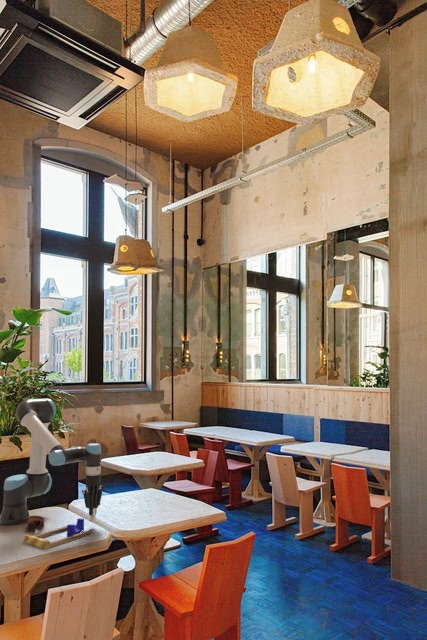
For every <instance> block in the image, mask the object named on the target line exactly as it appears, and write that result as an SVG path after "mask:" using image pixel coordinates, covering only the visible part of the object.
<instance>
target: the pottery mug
mask: <svg viewBox="0 0 427 640" xmlns="http://www.w3.org/2000/svg"><path fill="white" fill-rule="evenodd" d="M29 516H30V517H29V519H28V520H27V522H26V523H27V526H26V527H25V528H24V533H34V534H35V533H36V531H41V530H42V529H44V528H45V518H44V517H43V516H41V515H29Z"/></svg>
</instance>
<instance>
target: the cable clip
mask: <svg viewBox="0 0 427 640" xmlns="http://www.w3.org/2000/svg"><path fill="white" fill-rule="evenodd" d="M66 526H67V531H66V537H69V536H72V535H76V534H79V533H80V532H81V531H82V530H85V518H83V517H82V518H77V519H76V524H71V523H70V524H67V525H66ZM82 532H83V531H82ZM82 532H81V533H82Z"/></svg>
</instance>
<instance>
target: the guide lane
mask: <svg viewBox="0 0 427 640" xmlns="http://www.w3.org/2000/svg"><path fill="white" fill-rule="evenodd" d="M66 530H67V525H65V526H62V527H59V528H55V529H51V530H49V531H45V532H41V533H39V534H34V535H32V534H24V535H23V543H26V544H30V545H32V546H36V547H38V548H42V549H45V550H47V549H51V548H54V547H57V546H59V545H62V544H66V543H69V542H72V541H75V540H78V539H81V538H84V537H87V536H90V535H92V534H91V533H93V534H94V530H92V529H88V530H85V531H82V532H81V533H79V534H76V535H72V536H69V537H67V536H66V537H64V538H59V539H57V540H54V541H51V540H47V539H45V538H46V537H51V536H53V535H57V534H60V533H63V532H67V531H66ZM89 534H90V535H89ZM86 535H87V536H86ZM83 536H84V537H83Z"/></svg>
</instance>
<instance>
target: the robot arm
mask: <svg viewBox="0 0 427 640" xmlns="http://www.w3.org/2000/svg"><path fill="white" fill-rule="evenodd" d="M56 414H57V407H56V404H55V403H54V400H52V399H50V398H46V397H45V398H44V397H43V398H42V397H40V398H27V399H24V400H22V401H21V402H20V403H19V404H18V405H17V407H16V411H15V417H16V418H17V421H18V422H19V424H20V425H21V426H22V427H25V428H26V429H27V430H28V432H30V434H31V435H30V436H31V437H30V438H31V440H30V455H29V468H28V469H27V470H26V473H24V474H16V475H12V476H8V477H7V478H5V480H4V483H3V505H2V510H1V513H0V525H3V526H14V525H22V524H24V523H28V522H27V520H28V519H29V517H30V516H31V515H30V513H29V508H28V506H27V504H28V503H27V501H28V500H27V499H29V498H33V497H37V496H42V495H45V494H47V493H48V492H49V491H50V489H51V487H52V485H53V483H52V482H53V478H52V477H51V474H50V473H49V470H48V469H47V467H46V464H47V463H46V461H47V454H48V461H49V464H50V465H51V466H54V467H56V466H62V465H63V466H64V465H67V464H73V463H77V462H83V463H85V474H86V475H85V482H86V486H85V488H84V489H82V490H81V493H82V494H83V500H84V505H85V508H87V509H88V515H89V522H91V523H94V522H96V515H97V509H98V508H99V507H100V505H101V502H102V501H101V500H102V494H103V491H104V489H105V486H103V485H101V481H102V479H101V477H102V476H101V475H102V474H101V472H102V470H101V469H102V468H101V466H102V465H101V464H102V463H101V461H102V459H101V458H102V445H101V444H100V443H96V442H95V443H94V442H93V443H87V444H86V446H80V445H75V446H74V445H73V446H71V447H70V448H69V447H68V448H64V446H63V445H62V444H61V443H60V442H59V441H58V440H57V438H56V437H55V436H54V434H52V432H51V431H50V430H49V425H50V424H51V423H52V419H53V418H54V417H55V416H56Z"/></svg>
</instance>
